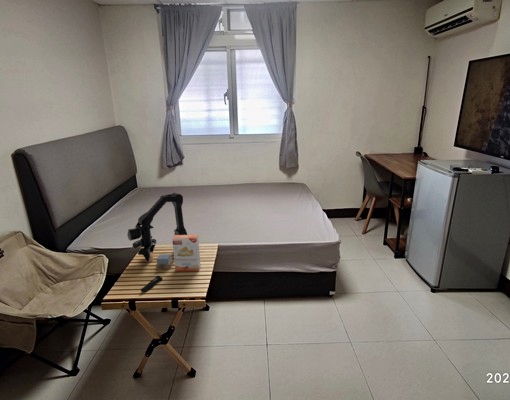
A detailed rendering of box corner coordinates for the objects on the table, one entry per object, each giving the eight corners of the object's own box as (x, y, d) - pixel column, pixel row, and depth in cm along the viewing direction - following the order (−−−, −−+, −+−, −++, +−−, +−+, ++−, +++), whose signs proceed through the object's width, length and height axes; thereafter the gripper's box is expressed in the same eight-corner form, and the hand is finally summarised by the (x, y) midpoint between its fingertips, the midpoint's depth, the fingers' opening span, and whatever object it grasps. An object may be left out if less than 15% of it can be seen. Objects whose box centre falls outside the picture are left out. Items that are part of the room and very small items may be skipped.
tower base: (173, 263, 194) (172, 258, 193) (170, 269, 186) (169, 264, 185) (160, 264, 194) (159, 259, 193) (156, 270, 186) (156, 265, 185)
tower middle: (170, 259, 192) (170, 254, 191) (168, 264, 186) (167, 258, 185) (160, 259, 192) (159, 254, 191) (157, 264, 186) (156, 259, 185)
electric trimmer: (139, 293, 162) (138, 288, 161) (157, 278, 176) (156, 273, 175) (145, 295, 161) (144, 289, 160) (163, 279, 175) (162, 274, 174)
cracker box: (175, 271, 183) (171, 238, 177) (177, 267, 188) (174, 234, 183) (199, 271, 182) (196, 237, 177) (200, 266, 188) (198, 234, 183)
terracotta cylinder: (154, 258, 201) (153, 251, 199) (152, 262, 196) (151, 254, 195) (146, 259, 201) (145, 251, 199) (144, 262, 196) (143, 255, 194)
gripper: (138, 231, 203) (141, 253, 207) (127, 242, 185) (131, 266, 189) (155, 230, 203) (158, 252, 207) (146, 241, 185) (149, 265, 189)
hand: (149, 259), depth 198 cm, fingers open, 7 cm apart
